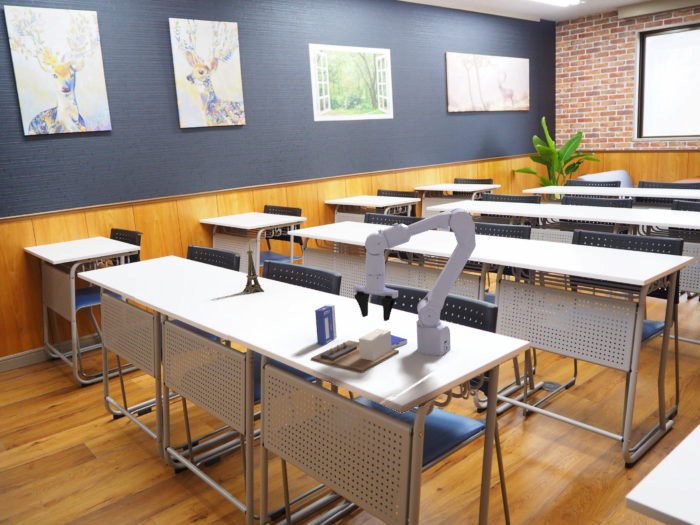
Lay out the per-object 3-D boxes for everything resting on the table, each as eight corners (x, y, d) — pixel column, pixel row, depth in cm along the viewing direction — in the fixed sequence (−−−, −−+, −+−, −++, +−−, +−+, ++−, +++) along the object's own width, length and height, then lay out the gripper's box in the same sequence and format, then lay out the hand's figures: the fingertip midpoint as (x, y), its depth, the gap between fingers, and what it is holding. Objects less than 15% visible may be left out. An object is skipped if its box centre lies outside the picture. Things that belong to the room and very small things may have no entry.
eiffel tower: (260, 293, 257) (255, 238, 252) (270, 298, 248) (265, 241, 243) (238, 297, 251) (233, 241, 247) (246, 302, 242) (241, 244, 238)
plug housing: (391, 350, 171) (390, 330, 170) (373, 360, 163) (372, 340, 162) (378, 347, 174) (377, 328, 172) (360, 358, 166) (358, 338, 165)
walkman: (325, 346, 180) (322, 309, 178) (317, 345, 181) (314, 309, 179) (337, 339, 187) (335, 303, 185) (330, 338, 188) (327, 302, 186)
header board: (398, 352, 171) (398, 342, 170) (362, 372, 157) (361, 361, 156) (349, 342, 182) (348, 332, 182) (311, 360, 169) (310, 349, 168)
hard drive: (361, 337, 182) (388, 345, 173) (379, 330, 187) (407, 338, 178) (361, 341, 183) (388, 350, 173) (379, 335, 188) (407, 343, 178)
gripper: (403, 274, 168) (403, 318, 170) (362, 269, 176) (362, 311, 179) (391, 278, 162) (391, 324, 165) (349, 273, 170) (349, 317, 173)
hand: (375, 318), depth 171 cm, fingers open, 7 cm apart
